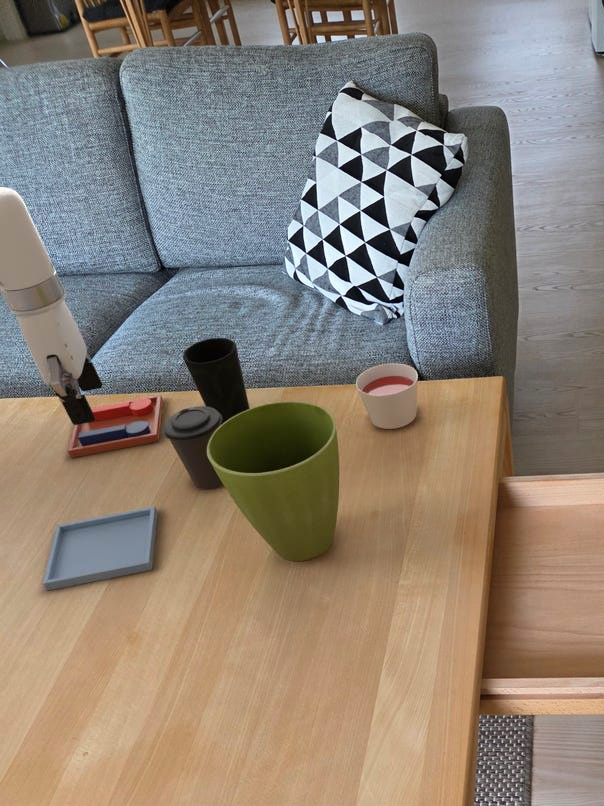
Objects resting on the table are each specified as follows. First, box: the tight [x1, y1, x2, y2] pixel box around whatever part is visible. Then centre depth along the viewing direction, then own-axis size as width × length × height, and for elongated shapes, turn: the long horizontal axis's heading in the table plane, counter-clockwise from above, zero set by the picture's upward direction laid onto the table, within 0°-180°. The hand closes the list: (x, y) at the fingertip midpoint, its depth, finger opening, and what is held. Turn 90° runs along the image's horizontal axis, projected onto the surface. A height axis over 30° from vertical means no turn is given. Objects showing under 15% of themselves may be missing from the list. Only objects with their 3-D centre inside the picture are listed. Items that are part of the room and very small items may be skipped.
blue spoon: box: [78, 421, 150, 446], centre depth 132 cm, size 10×3×2 cm, turn 101°
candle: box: [355, 362, 419, 430], centre depth 128 cm, size 9×9×6 cm
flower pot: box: [207, 400, 340, 562], centre depth 105 cm, size 15×15×16 cm
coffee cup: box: [162, 405, 224, 490], centre depth 119 cm, size 8×8×10 cm
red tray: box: [67, 394, 164, 458], centre depth 135 cm, size 13×12×1 cm
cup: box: [182, 337, 251, 425], centre depth 129 cm, size 8×8×12 cm
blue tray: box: [42, 506, 159, 591], centre depth 113 cm, size 13×12×1 cm
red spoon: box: [89, 397, 153, 423], centre depth 137 cm, size 10×3×2 cm, turn 101°
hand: (88, 405), depth 128 cm, fingers open, 9 cm apart
